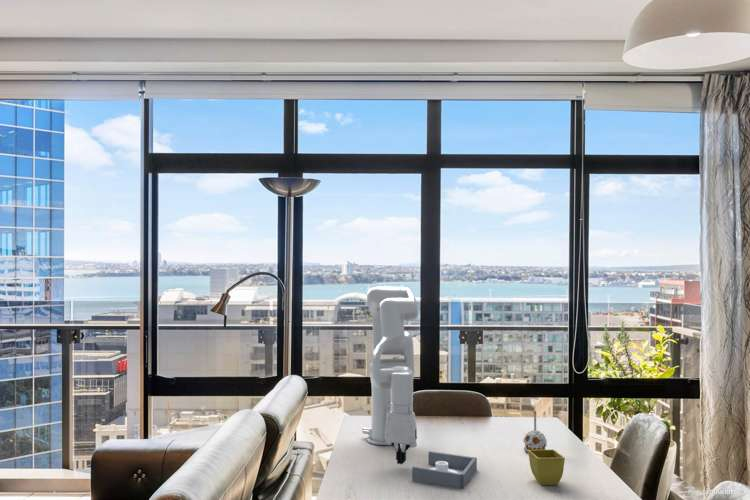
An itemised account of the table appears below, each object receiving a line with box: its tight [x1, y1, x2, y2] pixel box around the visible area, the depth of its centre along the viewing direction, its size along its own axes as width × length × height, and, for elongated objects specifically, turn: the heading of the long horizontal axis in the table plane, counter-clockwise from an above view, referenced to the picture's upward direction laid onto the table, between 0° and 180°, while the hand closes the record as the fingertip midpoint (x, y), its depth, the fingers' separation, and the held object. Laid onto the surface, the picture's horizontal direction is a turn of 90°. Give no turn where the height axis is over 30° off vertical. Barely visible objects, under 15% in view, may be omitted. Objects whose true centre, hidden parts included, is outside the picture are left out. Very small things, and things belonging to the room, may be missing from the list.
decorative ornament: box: [523, 410, 547, 453], centre depth 205 cm, size 8×8×15 cm
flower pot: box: [527, 448, 566, 486], centre depth 175 cm, size 9×9×9 cm
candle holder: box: [429, 461, 459, 473], centre depth 180 cm, size 12×12×4 cm
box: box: [411, 450, 478, 490], centre depth 180 cm, size 16×18×4 cm
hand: (400, 462), depth 187 cm, fingers closed
